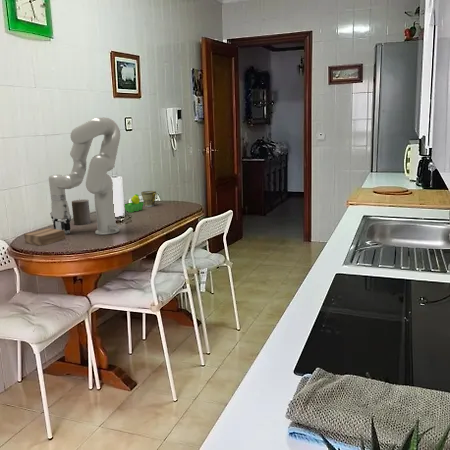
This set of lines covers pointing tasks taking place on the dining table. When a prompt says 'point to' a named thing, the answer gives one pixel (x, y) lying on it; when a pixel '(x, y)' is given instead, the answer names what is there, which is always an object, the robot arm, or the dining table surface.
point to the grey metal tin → (61, 226)
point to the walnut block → (44, 236)
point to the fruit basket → (134, 204)
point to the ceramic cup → (149, 198)
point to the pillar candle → (81, 212)
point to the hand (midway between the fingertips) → (62, 229)
